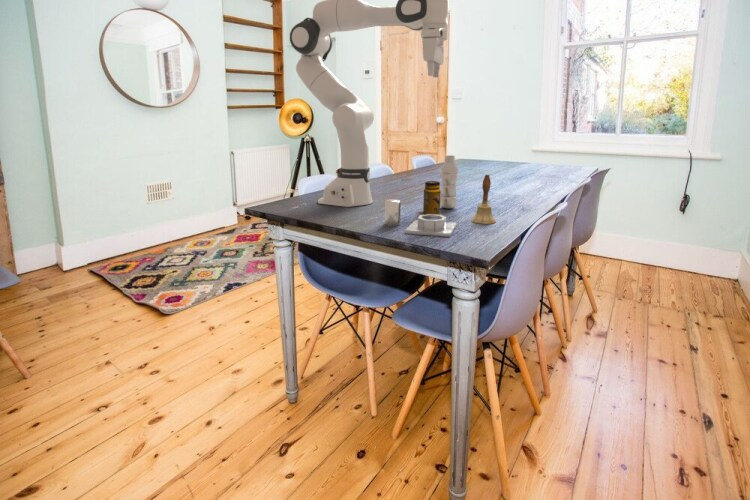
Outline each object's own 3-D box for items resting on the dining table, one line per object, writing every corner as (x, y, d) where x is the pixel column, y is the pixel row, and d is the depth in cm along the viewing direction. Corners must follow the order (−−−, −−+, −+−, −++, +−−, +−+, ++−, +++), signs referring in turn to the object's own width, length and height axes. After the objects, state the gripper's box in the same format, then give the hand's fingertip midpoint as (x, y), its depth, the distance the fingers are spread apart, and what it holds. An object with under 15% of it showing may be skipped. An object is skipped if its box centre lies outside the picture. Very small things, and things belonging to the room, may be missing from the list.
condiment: (443, 216, 165) (444, 182, 162) (421, 217, 163) (422, 183, 160) (436, 211, 172) (437, 179, 168) (414, 212, 170) (415, 180, 166)
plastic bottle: (456, 210, 173) (459, 157, 167) (438, 209, 175) (440, 156, 169) (456, 206, 179) (459, 155, 173) (439, 206, 181) (441, 154, 175)
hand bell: (478, 217, 163) (481, 172, 158) (499, 220, 158) (503, 174, 153) (466, 221, 157) (469, 175, 152) (489, 225, 152) (492, 177, 147)
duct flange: (405, 233, 143) (405, 220, 142) (415, 222, 155) (415, 211, 154) (450, 236, 139) (450, 224, 137) (456, 225, 151) (457, 214, 150)
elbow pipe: (382, 225, 152) (383, 201, 150) (387, 221, 157) (387, 198, 154) (397, 226, 151) (398, 202, 148) (401, 223, 155) (401, 199, 153)
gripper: (431, 38, 171) (430, 78, 175) (419, 30, 152) (418, 75, 156) (448, 38, 169) (446, 78, 173) (438, 30, 150) (437, 74, 155)
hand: (433, 76), depth 165 cm, fingers open, 8 cm apart
